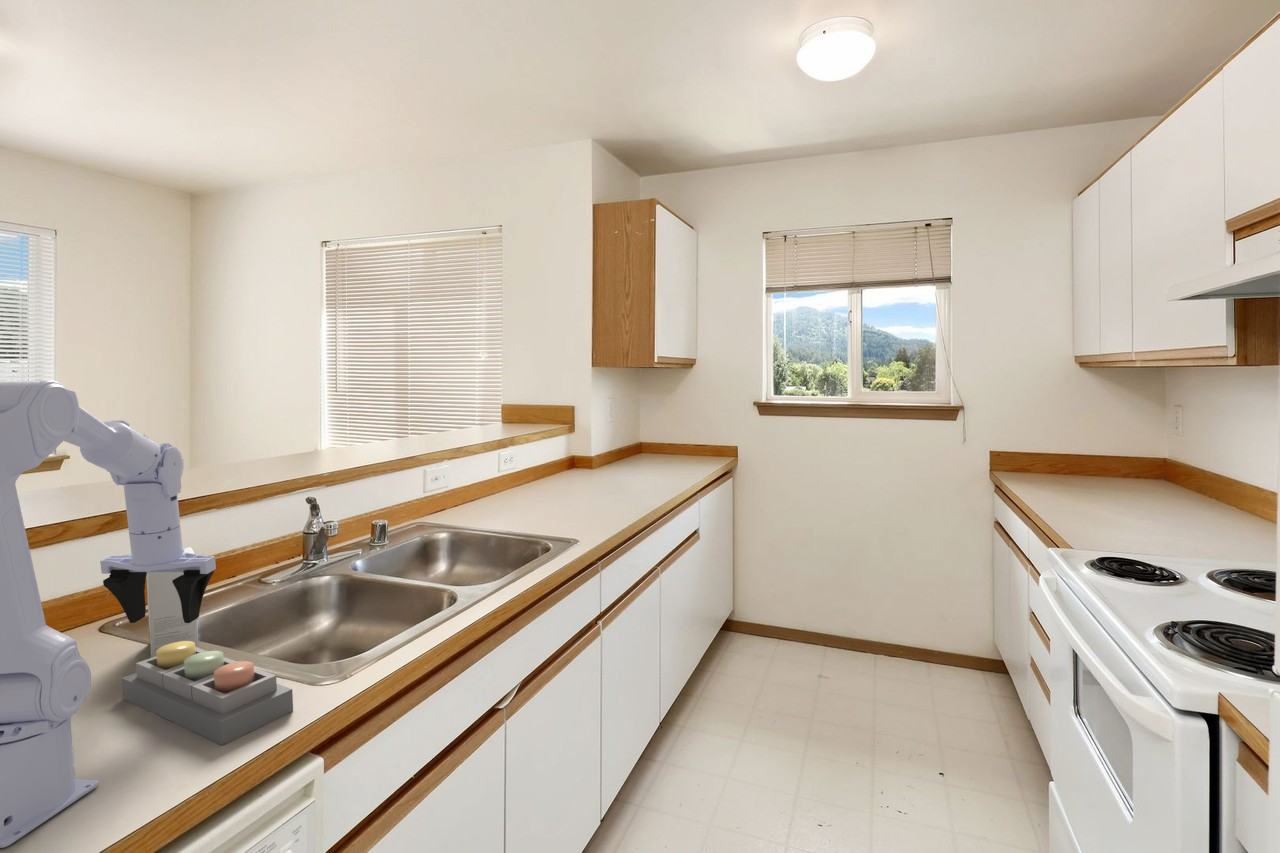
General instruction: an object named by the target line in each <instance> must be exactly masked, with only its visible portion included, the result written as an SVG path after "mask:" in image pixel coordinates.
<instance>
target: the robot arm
mask: <svg viewBox="0 0 1280 853" xmlns="http://www.w3.org/2000/svg"><path fill="white" fill-rule="evenodd" d="M63 442H65V443H68V444H71V445H73V446H76V447H79V452H80V454H81V456H82V457H83V459H84V460H85V461H87V462H88V463H90V464H93V465H95V466H97V467H98V468H101V469H103V470H105V471H106V472H109V474H110V477H111V479H112V481H113V482H114V483H115V485H116V486H123V492H124V500H125V510H126V518H127V519H126V520H127V527H128V537H129V545H130V552H131V553H130V554H128V555H127V554H126V555H109V556H107V557H106V558H104V559H101V560H100V570H101V571H100V572H101V574H102V575H105V574H107V575H108V574H109V575H108V576H109V577H107V578H105V579H103V580H102V584H103V586H104V587H105V588H106V589H107V590H108V591H109V592H110V593H111V594H112V595H113V596H114V597H115V598H116V600H117V601H118V603H119V605H120V606H121V608H122V609H123V611H124V613H125V616H126V617H127V620H128V622H129V623H130V624H136V623H137V622H138V621H141V620H142V619H143V618H146V612H147V607H146V596H145V588H146V582H147V572H183V573H184V575H181V576H179V577H177V578H176V579H174V580H172V582H173V584H174V586H175V588H176V590H177V592H178V595H179V598H180V601H181V607H182V615H183V619H184V622H185V623H191V622H192V621H194V620H195V619H197V618H198V619H199V616H200V613H201V612H200V610H201V606H202V603H203V602H202V601H203V598H204V594H205V592H206V589H207V586H208V584H209V583H210V580H211V578H212V576H213V575H214V573H215V570H217V566H216V565H217V564H216V556H215V555H203V554H197V553H194V554H192V553H186V552H184V549H183V548H184V547H183V540H182V538H183V537H182V531H181V530H182V529H181V520H180V518H181V517H180V510H179V509H180V508H179V498H178V494H180V493H181V489H182V477H183V471H184V465H185V463H184V462H185V461H184V458H183V457H182V453H181V451H180V450H179V448H178V447H175V446H173V445H172V444H170V443H165V442H164V443H157V442H155V441H153V440H151V439H150V437H149V436H148V435H146V434H141V433H139V432H138V431H137V430H135V429H133V428H131V427H130V423H129V422H127V421H126V420H110V421H104V422H103V421H102V420H100V419H99V418H97V417H96V416H94V415H93V414H91V413H90V412H89V411H87V409H85V408H83V407H82V406H81V405H80V404H79V400H78V396H77V394H76V392H75V390H73V389H70V388H67V387H66V386H65V385H63V383H60V382H58V381H56V380H42V381H17V382H16V381H9V382H8V381H6V382H5V381H0V849H1V848H3V849H4V848H6V847H9V846H11V845H12V844H14V843H15V842H16V841H18V840H19V839H21V838H22V837H24V836H26V835H27V834H29V832H31V831H34V829H36V828H37V827H39V826H41V825H42V824H43V823H45V822H46V821H48V820H49V819H50V818H53V817H54V816H55V815H57V814H58V813H59V812H61V811H63V810H64V809H66V808H68V807H69V806H70V805H72V804H73V803H75V802H76V801H78V800H79V799H80V798H82V797H83V796H85V795H86V794H88V793H90V792H91V791H92V790H94V789H95V788H97V787H98V786H99V780H97V779H96V780H95V779H93V780H92V779H79V778H76V777H75V773H76V772H75V762H74V748H73V736H72V735H73V734H72V721H71V720H72V719H71V717H73V716H74V715H75V714H76V713H77V712H78V711H79V710H80V709H81V708H82V706H83V705H84V704H85V701H86V700H87V698H88V695H89V694H90V690H91V685H92V671H91V668H90V667H89V665H88V662H87V660H85V659H84V658H83V656H82V655H81V654H80V651H79V648H78V642H77V640H76V639H74V638H72V637H70V636H68V634H67V635H66V634H64V633H62V632H60V631H58V630H57V629H55V628H52V627H51V626H49V625H47V623H46V618H45V614H44V609H43V605H42V600H41V595H40V591H39V587H38V582H37V577H36V574H35V573H36V572H35V567H34V564H33V560H32V556H31V550H30V546H29V542H28V541H29V540H28V536H27V531H26V528H25V527H26V526H25V523H24V518H23V514H22V510H21V509H22V508H21V505H20V500H19V495H18V491H17V487H16V483H17V480H18V479H19V477H21V475H22V473H25V472H28V471H29V470H33V469H35V468H37V467H39V466H40V465H41V464H42V463H43V461H45V460H46V459H47V458H48V457H49V456H50V455H51V454H52V453H53V452H54V451H55V450H56V449H57V448H58V447H59V446H60V445H61V444H62V443H63Z"/></svg>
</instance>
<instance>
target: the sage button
mask: <svg viewBox="0 0 1280 853" xmlns="http://www.w3.org/2000/svg"><path fill="white" fill-rule="evenodd" d="M206 651H207V652H202V653H198V654H195V655H192V656H190V657H188V658H187V659H185V661H184V672H185V678H187V679H190V680H197V679H202V678H205V677H207V676H210V675H212V674H214V671H215V670H216V669H218V668H219V667H221V666H224V657H225V656H224V652H223V651H221V650H206Z"/></svg>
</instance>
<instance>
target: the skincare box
mask: <svg viewBox="0 0 1280 853" xmlns="http://www.w3.org/2000/svg"><path fill="white" fill-rule="evenodd" d="M183 549H184V552H186V553H192V554H196V552H195V550H194V549H193V548H192V547H191V546H188V547H183ZM181 575H184V573H183V572H147V575H146V592H147V596H146V597H147V612H148V613H147V615H148V630H149V631H148V632H149V633H148V634H149V636H148V637H149V648H150V649H149V650H150V658H153V657H155V656H157V655H156V651H157V650H158V649H159V648H161V647H162V646H165V645H168V644H171V643H175V642H181V641H192V642H194V643H195V647H197V648H199V632H198V630H199V627H198V625H199V624H198V623H199V621H198V619H199V617H198V618H197V619H195V620H194V621H192V622H191V623H185V622H184V619H183V615H182V607H181V601H180V598H179V595H178V592H177V590H176V588H175V586H174V584H173V582H172V580H174V579H176V578H177V577H179V576H181Z"/></svg>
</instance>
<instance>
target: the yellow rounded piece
mask: <svg viewBox="0 0 1280 853" xmlns="http://www.w3.org/2000/svg"><path fill="white" fill-rule="evenodd" d="M195 654H196V651H195V643H194V642H192V641H181V642H175V643H171V644H168V645H165V646H162V647H161V648H159V649H158V650H157V651H156V655H157V667H159V668H173V667H175V666H178V665H181V664H184V661H185V659H187V658H188V657H190V656H192V655H195Z"/></svg>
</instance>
